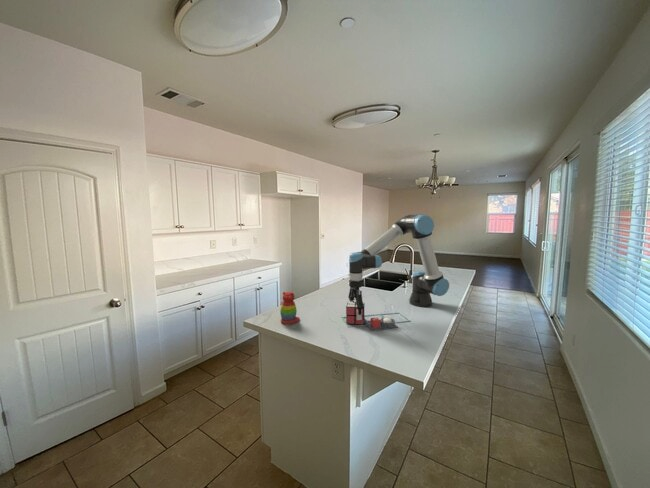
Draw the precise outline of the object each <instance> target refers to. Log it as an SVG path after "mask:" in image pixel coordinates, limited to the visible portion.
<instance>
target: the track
mask: <svg viewBox="0 0 650 488" xmlns="http://www.w3.org/2000/svg"><path fill="white" fill-rule="evenodd" d="M395 314H399V315H400V316H401V317H403V318H404V319H405V320H404V321H403V320H402V321H395V324H400V323H410V322H411V320H410V319H408V318H407V317H406V316H404V315H403V314H402V313H400V312H388V315H395ZM384 315H385V316H386V315H387V313H380V314H379V313H377V314H367V315H365V314H364V317H371V316H374V317H375V316H381V317H382V318H386V317H384ZM345 319H346V316H342V317H341V320H342V321H343V322H344V324H345V325H346V326H347V328H355V327H356V328H357V327H365V326H366V327H367V326H368V325H367V324H370V323H369V321H367V320H366V319H365V318H364V322H366V323H367V324H363V325H362V324H357V325H351V326H350V325H349V324H347V323H346V320H345Z"/></svg>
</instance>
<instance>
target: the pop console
mask: <svg viewBox="0 0 650 488" xmlns="http://www.w3.org/2000/svg"><path fill="white" fill-rule="evenodd" d="M390 318H391V319H392V322H389V323H387V322H383V319H384V318H383V317H382V318H379V317H377V316H376V317H370V321H369V322H370V323H369V324H368V323H367V324H366V325H368V328H369V329H370V330H371V331H381V330H382V331H384V330H394V329H399V326H397V324H396V323H395V322H396V320H395V319H393V318H392V317H390Z"/></svg>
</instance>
